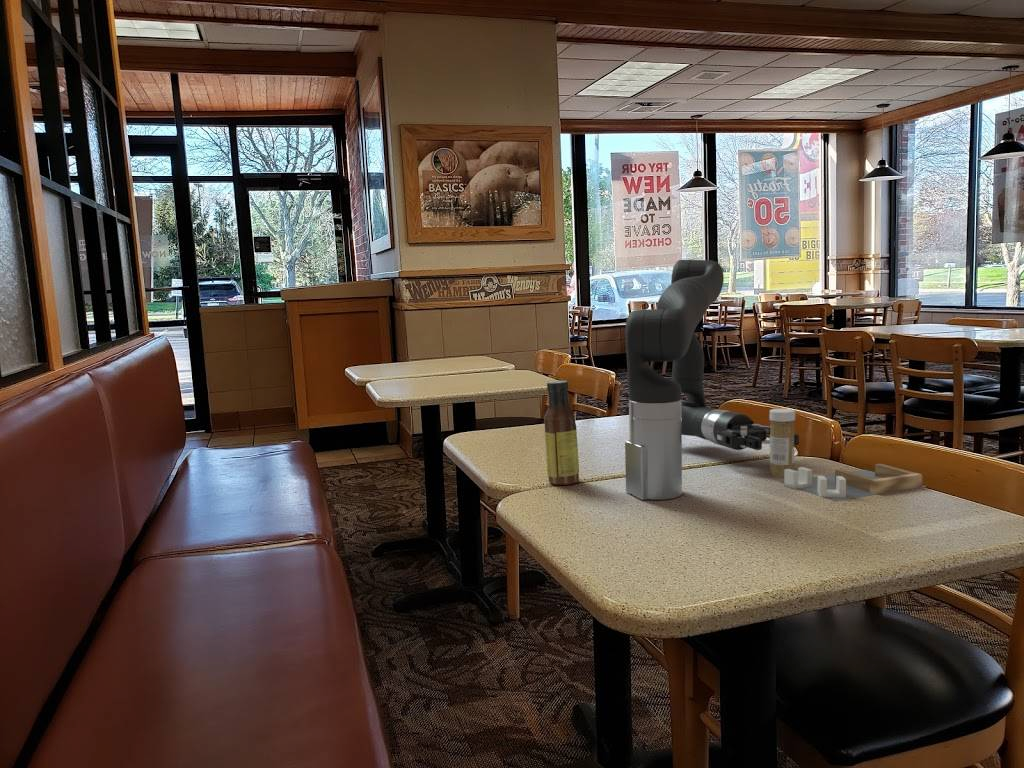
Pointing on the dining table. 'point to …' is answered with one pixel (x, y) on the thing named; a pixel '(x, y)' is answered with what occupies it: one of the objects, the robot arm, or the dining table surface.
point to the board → (827, 484)
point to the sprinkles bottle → (781, 441)
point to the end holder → (882, 479)
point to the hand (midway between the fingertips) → (779, 442)
